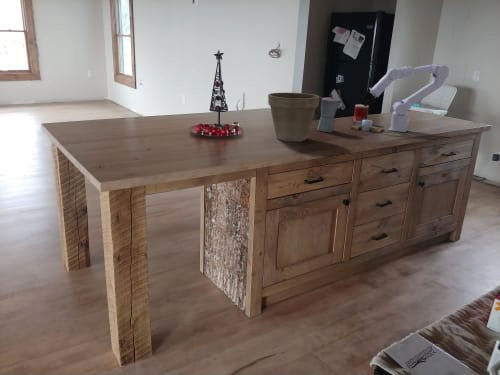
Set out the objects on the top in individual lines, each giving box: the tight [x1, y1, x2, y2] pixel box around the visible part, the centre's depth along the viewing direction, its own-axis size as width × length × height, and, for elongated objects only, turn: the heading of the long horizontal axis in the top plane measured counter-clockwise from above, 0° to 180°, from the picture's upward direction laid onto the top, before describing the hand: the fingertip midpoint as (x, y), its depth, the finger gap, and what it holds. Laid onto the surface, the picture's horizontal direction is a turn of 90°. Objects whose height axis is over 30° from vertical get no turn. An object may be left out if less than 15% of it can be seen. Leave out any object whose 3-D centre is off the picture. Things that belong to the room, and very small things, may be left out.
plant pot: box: [267, 92, 320, 143], centre depth 221 cm, size 25×25×22 cm
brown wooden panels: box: [350, 124, 384, 134], centre depth 256 cm, size 16×11×1 cm
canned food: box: [353, 104, 369, 125], centre depth 272 cm, size 8×8×11 cm
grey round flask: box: [354, 119, 373, 132], centre depth 255 cm, size 9×6×6 cm, turn 62°
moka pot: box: [314, 94, 342, 133], centre depth 244 cm, size 10×15×20 cm, turn 78°
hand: (363, 104), depth 256 cm, fingers open, 7 cm apart
